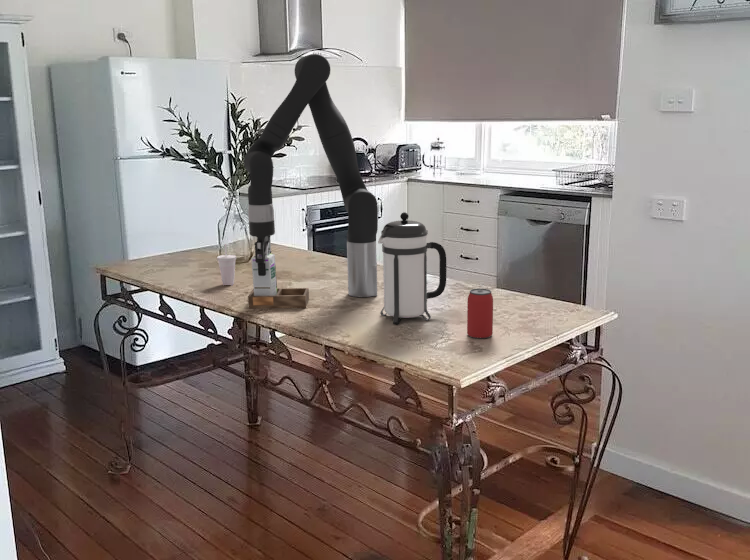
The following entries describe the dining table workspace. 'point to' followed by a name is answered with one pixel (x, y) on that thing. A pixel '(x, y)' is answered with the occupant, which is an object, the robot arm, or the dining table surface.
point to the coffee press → (408, 269)
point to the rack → (280, 299)
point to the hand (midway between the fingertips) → (264, 272)
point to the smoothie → (227, 267)
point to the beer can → (480, 313)
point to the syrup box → (265, 277)
